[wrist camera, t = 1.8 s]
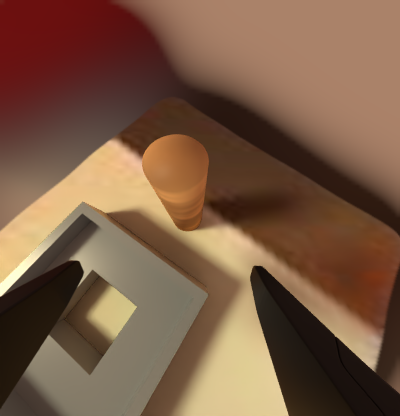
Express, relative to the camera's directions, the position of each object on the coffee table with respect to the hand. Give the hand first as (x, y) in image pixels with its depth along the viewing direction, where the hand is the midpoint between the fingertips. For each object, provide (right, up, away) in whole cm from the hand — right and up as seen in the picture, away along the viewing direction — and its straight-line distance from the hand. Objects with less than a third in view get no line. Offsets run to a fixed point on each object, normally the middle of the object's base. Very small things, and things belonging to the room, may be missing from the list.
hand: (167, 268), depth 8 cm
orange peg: (0, +2, +14) cm, 14 cm away
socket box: (-9, -9, +10) cm, 16 cm away
